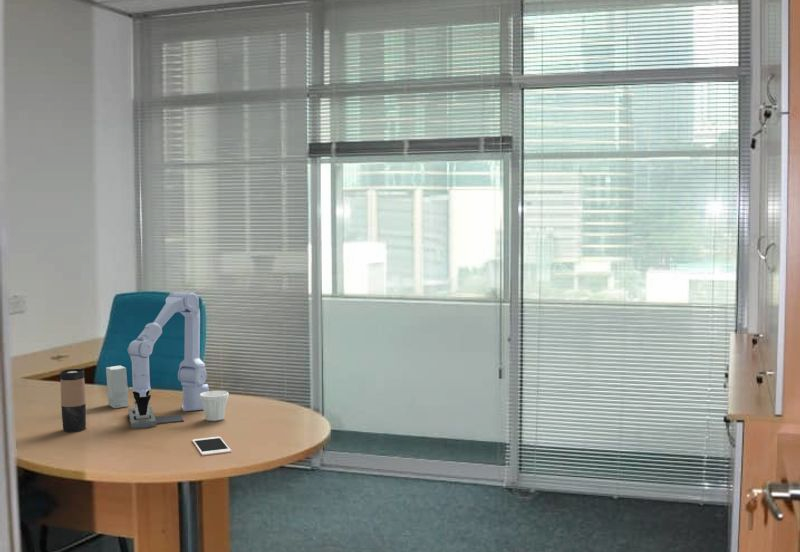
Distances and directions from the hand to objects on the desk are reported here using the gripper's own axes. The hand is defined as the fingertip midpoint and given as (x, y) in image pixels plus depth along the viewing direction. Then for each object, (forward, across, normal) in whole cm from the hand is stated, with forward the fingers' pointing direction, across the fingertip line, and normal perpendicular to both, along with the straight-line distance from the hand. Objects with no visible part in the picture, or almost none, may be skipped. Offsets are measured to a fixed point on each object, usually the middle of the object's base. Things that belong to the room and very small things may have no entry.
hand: (142, 413), depth 287 cm
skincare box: (+4, -31, -7) cm, 32 cm away
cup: (+4, +5, +24) cm, 25 cm away
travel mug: (+3, 0, -22) cm, 22 cm away
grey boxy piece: (+3, 0, 0) cm, 3 cm away
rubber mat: (+3, -1, +9) cm, 10 cm away
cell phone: (+4, +39, +18) cm, 43 cm away
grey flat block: (+3, -4, 0) cm, 5 cm away
